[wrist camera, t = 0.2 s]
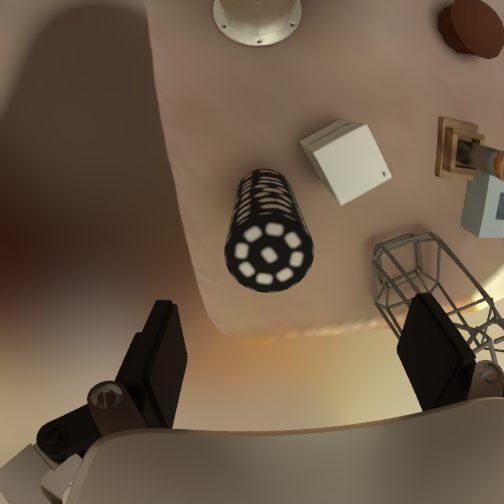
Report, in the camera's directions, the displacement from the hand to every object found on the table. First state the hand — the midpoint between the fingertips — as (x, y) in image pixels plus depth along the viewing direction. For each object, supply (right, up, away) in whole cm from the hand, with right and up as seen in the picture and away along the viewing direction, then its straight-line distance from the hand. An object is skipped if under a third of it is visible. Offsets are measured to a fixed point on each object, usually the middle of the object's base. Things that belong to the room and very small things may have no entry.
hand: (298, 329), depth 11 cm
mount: (+33, +20, +30) cm, 49 cm away
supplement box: (+10, +18, +32) cm, 38 cm away
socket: (+43, +14, +33) cm, 56 cm away
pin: (+33, +20, +29) cm, 48 cm away
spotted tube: (0, +12, +35) cm, 37 cm away
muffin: (+33, +40, +21) cm, 56 cm away
